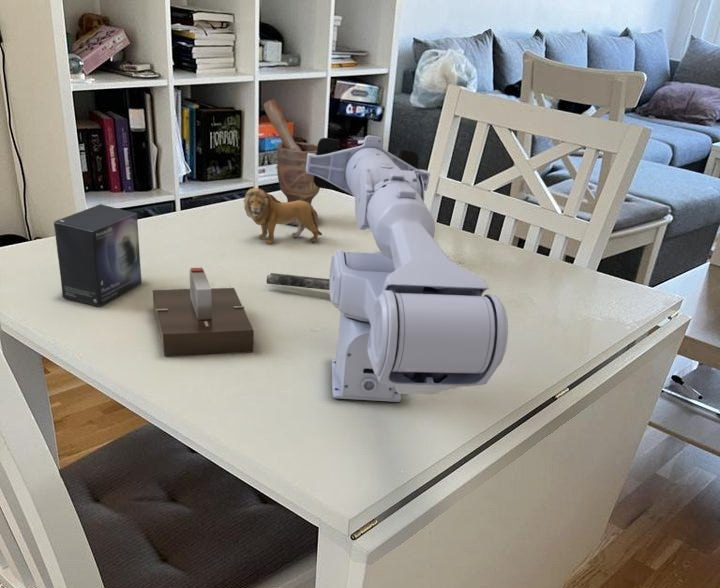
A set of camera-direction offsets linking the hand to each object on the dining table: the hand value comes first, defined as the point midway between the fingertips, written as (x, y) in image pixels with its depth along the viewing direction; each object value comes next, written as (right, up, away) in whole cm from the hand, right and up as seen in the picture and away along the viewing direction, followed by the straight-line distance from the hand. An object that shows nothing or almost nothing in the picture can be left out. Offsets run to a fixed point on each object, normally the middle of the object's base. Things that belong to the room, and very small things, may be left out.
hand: (358, 159), depth 96 cm
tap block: (-21, -21, +3) cm, 30 cm away
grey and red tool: (0, -13, +18) cm, 22 cm away
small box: (-36, -14, +11) cm, 40 cm away
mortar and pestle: (-13, +8, +47) cm, 49 cm away
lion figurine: (-13, +1, +36) cm, 38 cm away
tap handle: (-20, -19, +1) cm, 28 cm away
